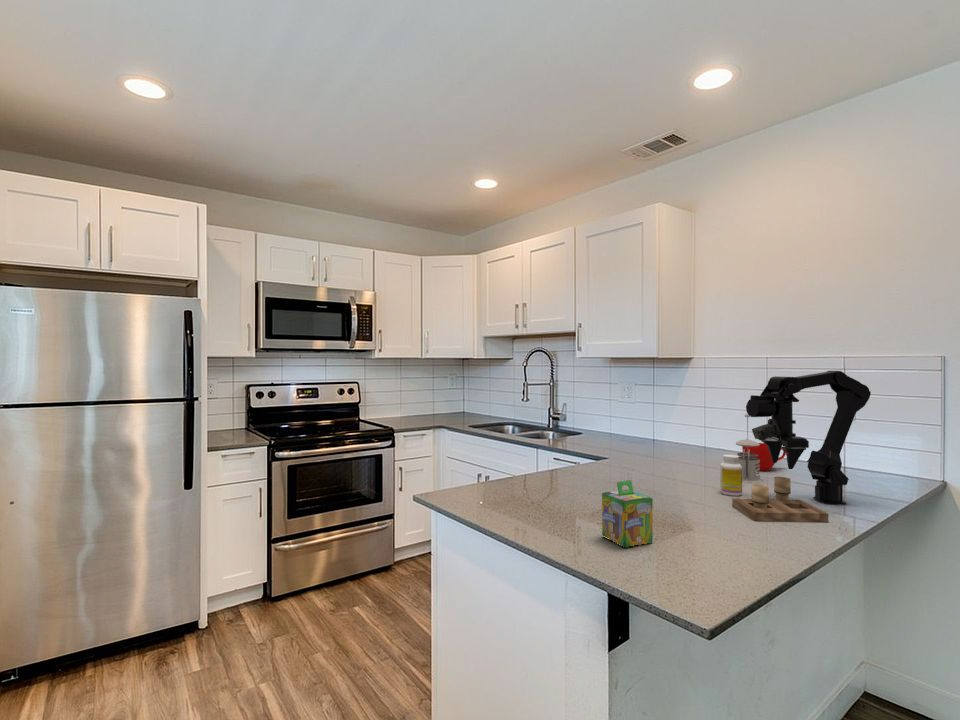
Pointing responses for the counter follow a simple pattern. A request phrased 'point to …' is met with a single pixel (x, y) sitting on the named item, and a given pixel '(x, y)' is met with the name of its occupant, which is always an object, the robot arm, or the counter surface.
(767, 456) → the ceramic cup
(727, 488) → the supplement bottle
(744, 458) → the french press
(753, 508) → the brown block with openings
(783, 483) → the oak leg
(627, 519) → the chalk box
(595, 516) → the counter surface
